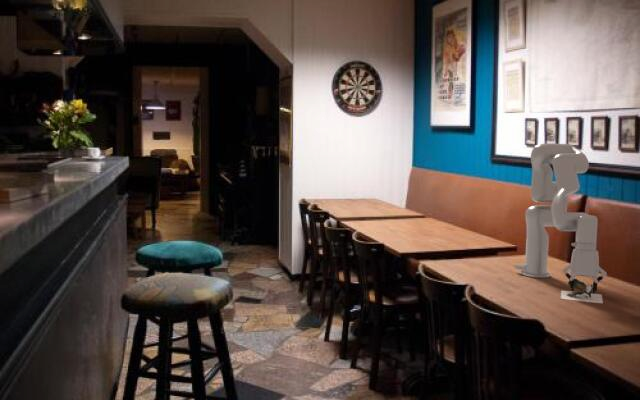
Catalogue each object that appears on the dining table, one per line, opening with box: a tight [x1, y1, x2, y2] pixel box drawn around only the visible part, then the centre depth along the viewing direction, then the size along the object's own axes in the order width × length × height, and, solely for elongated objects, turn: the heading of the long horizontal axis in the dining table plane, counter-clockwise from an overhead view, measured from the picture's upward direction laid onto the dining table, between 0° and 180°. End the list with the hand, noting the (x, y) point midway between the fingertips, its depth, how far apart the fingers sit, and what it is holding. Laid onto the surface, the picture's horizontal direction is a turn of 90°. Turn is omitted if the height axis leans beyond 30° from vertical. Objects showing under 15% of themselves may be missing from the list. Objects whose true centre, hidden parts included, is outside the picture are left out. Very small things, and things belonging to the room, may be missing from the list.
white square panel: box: [560, 289, 604, 304], centre depth 249 cm, size 15×14×1 cm
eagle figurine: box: [567, 278, 593, 298], centre depth 249 cm, size 8×7×9 cm
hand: (583, 291), depth 248 cm, fingers closed on eagle figurine, 7 cm apart
